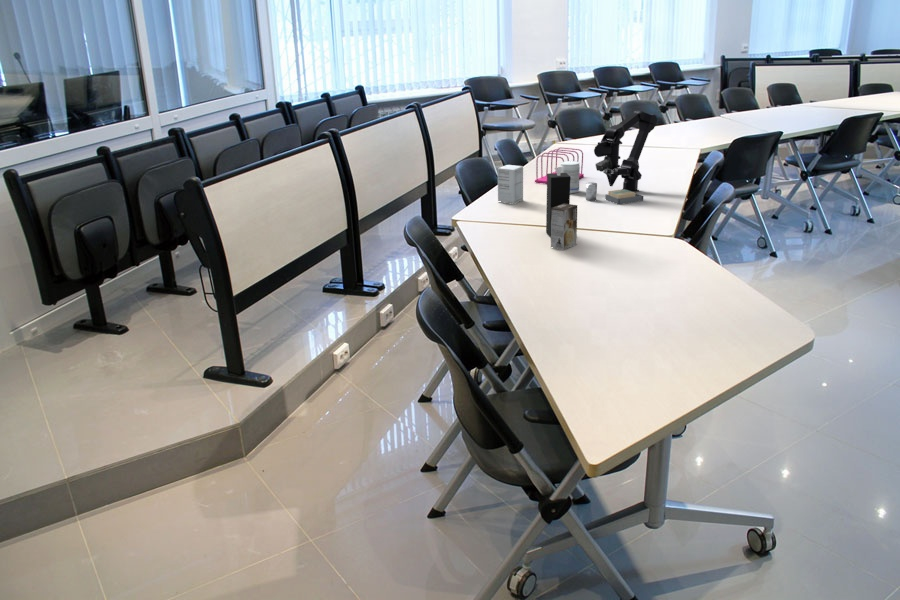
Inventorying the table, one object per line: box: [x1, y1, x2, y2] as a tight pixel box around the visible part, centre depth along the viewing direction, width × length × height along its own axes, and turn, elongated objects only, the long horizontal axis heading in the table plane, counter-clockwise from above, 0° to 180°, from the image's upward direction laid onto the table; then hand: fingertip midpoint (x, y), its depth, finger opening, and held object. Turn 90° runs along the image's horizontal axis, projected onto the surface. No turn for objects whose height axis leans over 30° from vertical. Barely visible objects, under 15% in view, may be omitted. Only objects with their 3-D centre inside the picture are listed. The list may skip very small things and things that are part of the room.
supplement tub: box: [560, 160, 581, 194], centre depth 365 cm, size 10×10×15 cm
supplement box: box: [497, 164, 524, 205], centre depth 350 cm, size 10×9×17 cm
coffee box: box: [550, 203, 578, 251], centre depth 280 cm, size 9×6×16 cm
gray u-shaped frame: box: [604, 192, 644, 205], centre depth 347 cm, size 14×11×2 cm
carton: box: [607, 188, 636, 199], centre depth 346 cm, size 9×9×5 cm
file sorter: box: [534, 147, 585, 185], centre depth 391 cm, size 17×25×16 cm
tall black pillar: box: [545, 166, 571, 238], centre depth 293 cm, size 8×8×28 cm
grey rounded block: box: [585, 181, 598, 202], centre depth 349 cm, size 5×5×8 cm
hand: (611, 186), depth 355 cm, fingers closed
